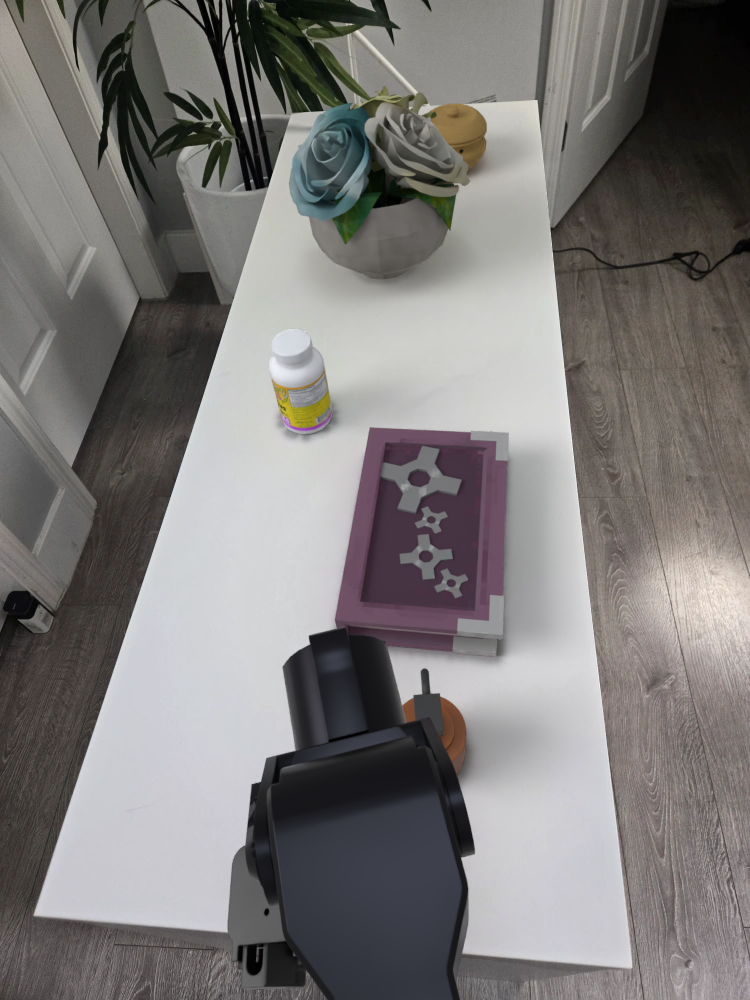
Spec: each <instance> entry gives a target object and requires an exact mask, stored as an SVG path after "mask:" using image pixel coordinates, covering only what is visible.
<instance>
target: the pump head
mask: <svg viewBox="0 0 750 1000" xmlns="http://www.w3.org/2000/svg"><path fill="white" fill-rule="evenodd" d="M430 681H431V680H430V672H429V669H428V668H425V667H423V668H421V670H420V682H421V683H420V684H421V693H420V694H413V695H412V696H413V697H412V698H413V699H414V712H415V721H416V720H420V719H424V718H427V717H430V718H431V720H432V722H433V724H434V726H435V728H436V730H437V732H438V734H439V736H443V735H444V730H443V720H442V709H441V699H440V697H441V693H439V692H437V693H432V692H431V682H430Z"/></svg>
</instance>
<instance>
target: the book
mask: <svg viewBox="0 0 750 1000" xmlns="http://www.w3.org/2000/svg"><path fill="white" fill-rule="evenodd" d="M509 439H510V432H506V431H505V432H503V431H484V430H482V431H481V430H471V431H454V430H453V431H452V430H434V429H413V428H412V429H411V428H393V427H390V428H389V427H372V426H371V427H369V429H368V435H367V440H366V445H365V452H364V455H363V456H364V457H363V462H362V467H361V473H360V479H359V484H358V489H357V495H356V501H355V506H354V511H353V512H354V513H353V515H352V522H351V527H350V533H349V538H348V539H349V540H348V545H347V548H346V549H347V550H346V556H345V559H344V560H345V562H344V566H343V571H342V577H341V583H340V588H339V595H338V599H337V605H336V610H335V615H334V622H335V626H336V629H337V628H341V627H346V629H347V634H348V635H366V636H372V637H375V638H378V639H380V640H382V641H385V642H386V644H387V647H389V646H390V647H399V648H400V647H401V648H410V649H420V650H433V651H443V652H452V654H461V655H471V656H472V655H473V656H484V657H495V658H496V657H497V652H498V651H497V649H498V648H497V646H498V640H500V641H501V640H503V638H504V621H505V620H504V619H505V618H504V616H505V595H504V569H505V568H504V567H505V539H506V538H505V536H506V503H507V499H506V498H507V470H508V469H507V467H508V464H509V447H510V445H509V442H510V440H509Z"/></svg>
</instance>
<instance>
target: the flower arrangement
mask: <svg viewBox="0 0 750 1000" xmlns="http://www.w3.org/2000/svg"><path fill="white" fill-rule="evenodd" d="M374 92H375V93H377V96H371V97H370V98H369V99H368V100H367V101H365V102H364V101H363V100H362V99H359V101H360V102H361V104H359V105H358V103H357V102H356V103H353V102H348V103H343V104H339V105H336V106H334V107H330V108H329V109H327V110H325V111H323V113H320V114H319V115H317V116H316V118H315V120H314V122H313V125H312V127H311V129H310V131H309V133H308V135H307V137H306V139H305V140H304V141H303V143H301V144H299V145H297V148H298V149H297V150H296V152H295V153H294V155H293V157H292V161H291V169H290V173H289V176H290V177H289V181H288V186H289V194H290V197H291V199H292V202H293V204H295V206H296V209H297V212H298V214H299V215H300V216H302V217H308V218H309V219H308V220H309V225H310V230H311V233H312V237H313V238H314V240H315V242H316V243H317V245H318V247H319V249H320V250H321V252H323V254H325V256H327V257H328V259H330V260H331V261H332V263H334V264H336V265H339V266H341V267H343V268H346V269H349V270H351V271H353V272H357V273H359V274H361V275H364V276H366V277H369V278H372V279H376V280H387V279H392V278H397V277H399V276H401V275H403V274H404V273H406V271H408V270H409V269H411V268H413V267H415V266H417V265H420V264H422V263H423V262H425V261H426V260H428V259H430V257H431V256H433V254H435V253H436V251H437V250H438V249H439V248H440V247H441V246H443V245H444V242H445V239H446V236H447V235H448V234H447V233H448V231H451V230H452V229H451V228H452V224H453V217H454V211H455V205H456V199H457V194H458V193H459V190H460V185H461V186H462V187H466V186H468V185H470V183H471V179H470V178H469V177H468V174H467V173H468V171H469V170H468V167H469V165H468V164H467V163H466V162H464V161H463V157H462V155H460V154H458V153H457V152H456V151H455V150H454V149H453V148H452V147H451V146H450V145H449V144H448V143H447V142H446V140H445V139H444V137H443V136H442V135H441V133H440V132H439V130H438V129H437V128H436V126H435V125H434V124H433V123H432V122H431V118H435V117H436V116H437V114H436V112H429V111H428V112H426V113H424V114H419V112H420V110H421V108H422V106H423V105H428V104H429V101H428V99H427V97H426V95H425V94H424V93H423V92H421V91H418V92H416V94H415V95H414V94H408V95H406V96H403V95H400V94H395V93H394V94H391V95H390V93H389V90H388V88H387V86H386V85H383V87H382V89H381V90H380V91H379V90H375V91H374ZM410 102H413V105H412V107H411V108H410ZM353 104H354V105H353ZM352 105H353V106H352ZM351 106H352V108H351ZM350 108H351V109H350ZM459 184H460V185H459Z"/></svg>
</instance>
